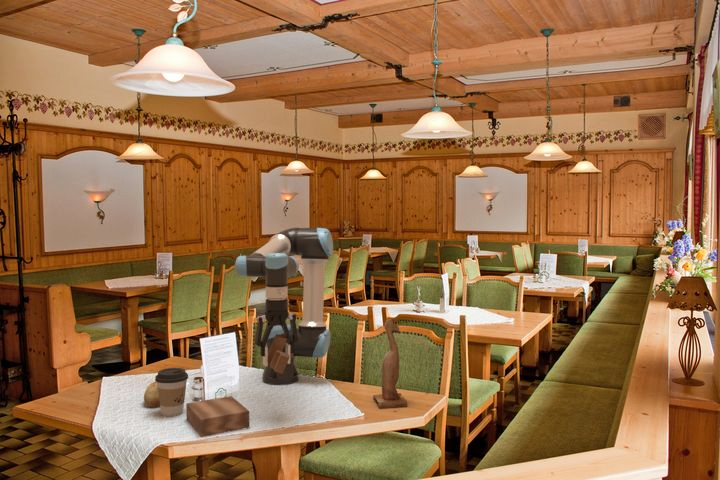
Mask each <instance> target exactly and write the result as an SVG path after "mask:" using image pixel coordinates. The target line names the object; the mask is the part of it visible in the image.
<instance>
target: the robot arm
mask: <svg viewBox="0 0 720 480" xmlns="http://www.w3.org/2000/svg"><path fill="white" fill-rule="evenodd" d="M333 255H334V241H333V237H332V233H331V232H330V230H329V229H327V228H324V227H291V228H287V229H284V230H282V231H279V232H277V233H276V234H274V235H273V236H271V237H270V238H269V241H268V242H266V244H264V245H263V246H261V247H260V248H258V249H257V250H255V251H254V252H253V253H252V254H249V255H240V256H238V257H237V258H236V259H235V264H234V269H235V270H234V271H235V273H236V274H237V276H239V277H245V278H248V277H249V278H265V298H266V299H265V313H264V314H263V315H260V316H259V315H257V316H256V322H257V325H256V331H255V340H254V344H255V345H256V346H257V347H259V349H260V356H261V357H262V365H263V366H264V369H263V373H262V378H261V381H263V383H265V384H269V385H279V386H280V385H289V384H294V383H296V382H298V380H299V371H298V369H297V365H296V361H295V357H298V358H299V357H301V358H302V357H303V358H313V359H315V358H318V359H319V358H324V357H325V356H326V355H327V353H328V350H329V347H330V344H331V338H332V336H331V330H330V329H327V324H326V323H325V322H324V305H325V304H324V302H325V301H324V300H325V296H324V295H325V294H324V293H325V273H326V272H325V269H326V267H325V266H326V264H327V263H328V262H329V258H330V257H331V256H333ZM294 256H300V261H302V262H303V263H304V265H303V266H304V267H303V268H304V269H303V271H304V272H303V298H302V320H301V322H300V323H299V324H298V327H297V323H296V319H297V314H295V313H293V312H292V313H289V312H288V309H289V307H288V306H289V304H288V302H289V301H288V294H289V293H288V291H289V290H288V285H289V284H288V281H289V280H288V279H289V278H292V277H293V276H295V275H296V274H297V273H298V271H299V268H300V264H299V262H298V259H297V258H295V257H294ZM287 319H289V323H287V322H286V321H287ZM265 320H266V321H267V323H266V327H265V328H264V323H265ZM263 328H264V329H265V330H264V333H263ZM276 334H280V335H282V336H284V337H286V338H287V342H286V344H285V346H284V348H283V351H282V352H283V353H285V351H286V354H288V355H290V353H293V357H292V359H291V361H290V357H289V360H288V362H287V365H286V367H285V369H284V371H283V374H280V373H277V372H275V371H274V369H272V368H270V365H269V364H268V351H269V349H270V347H271V345H272V342H273V340H274V338H275V335H276Z"/></svg>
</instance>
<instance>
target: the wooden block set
mask: <svg viewBox="0 0 720 480" xmlns="http://www.w3.org/2000/svg"><path fill="white" fill-rule="evenodd" d="M286 342H287V338H286V337H284V336H282V335H280V334H276V335H275V338H274V340H273V342H272V345H271V347H270V349H269V351H268V364H269V365H270V368H272V369H274V371H275V372H277V373H280V374H283V371H284V369H285V367H286V365H287V362H288V360H289V357H290V361H291V359H292V357H293V353H290V355H288V354H286V351H285V353H283V352H282V351H283V348H284V346H285V344H286Z"/></svg>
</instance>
